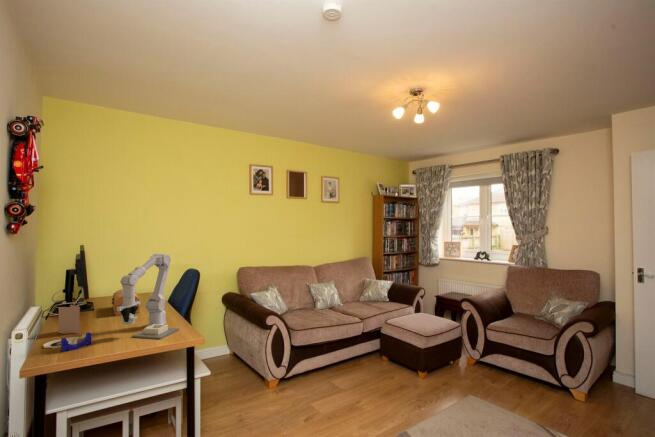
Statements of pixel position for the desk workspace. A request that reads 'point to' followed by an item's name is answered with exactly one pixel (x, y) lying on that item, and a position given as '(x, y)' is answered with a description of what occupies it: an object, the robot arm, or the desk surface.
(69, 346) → the blue cradle holder
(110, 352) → the desk surface
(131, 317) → the block
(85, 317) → the desk surface
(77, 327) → the greeting card
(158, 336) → the pocket plate
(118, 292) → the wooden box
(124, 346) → the desk surface
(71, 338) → the light piece
